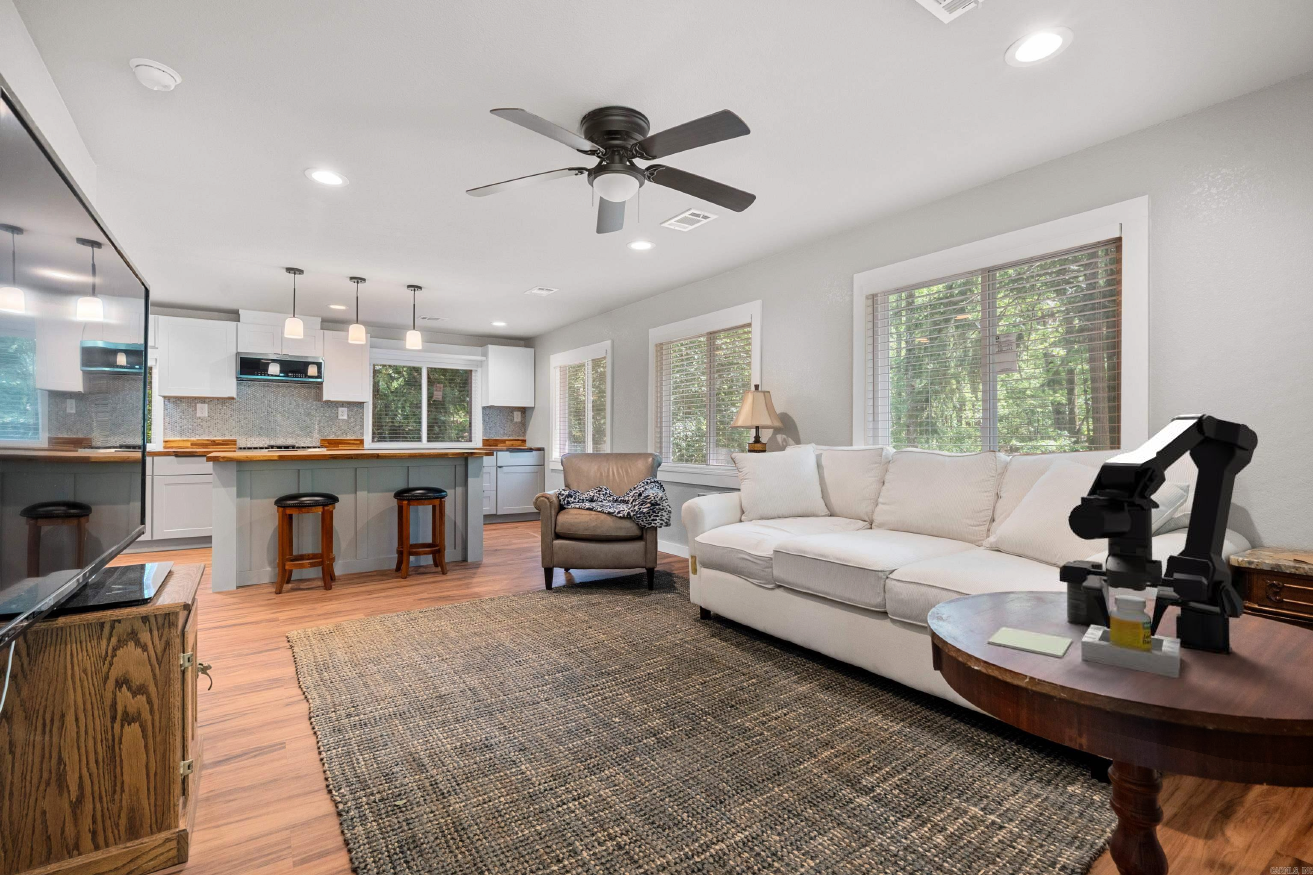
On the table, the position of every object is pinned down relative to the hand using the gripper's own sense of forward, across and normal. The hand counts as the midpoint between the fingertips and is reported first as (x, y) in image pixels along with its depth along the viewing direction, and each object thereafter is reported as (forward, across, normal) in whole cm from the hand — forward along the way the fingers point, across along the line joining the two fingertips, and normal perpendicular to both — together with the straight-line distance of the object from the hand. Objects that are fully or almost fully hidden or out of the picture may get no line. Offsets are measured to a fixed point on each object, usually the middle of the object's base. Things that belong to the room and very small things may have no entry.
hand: (1130, 631), depth 99 cm
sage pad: (+4, -14, -1) cm, 15 cm away
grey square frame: (+4, 0, +1) cm, 4 cm away
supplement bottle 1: (+5, -8, +20) cm, 22 cm away
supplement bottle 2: (+4, 0, 0) cm, 4 cm away
